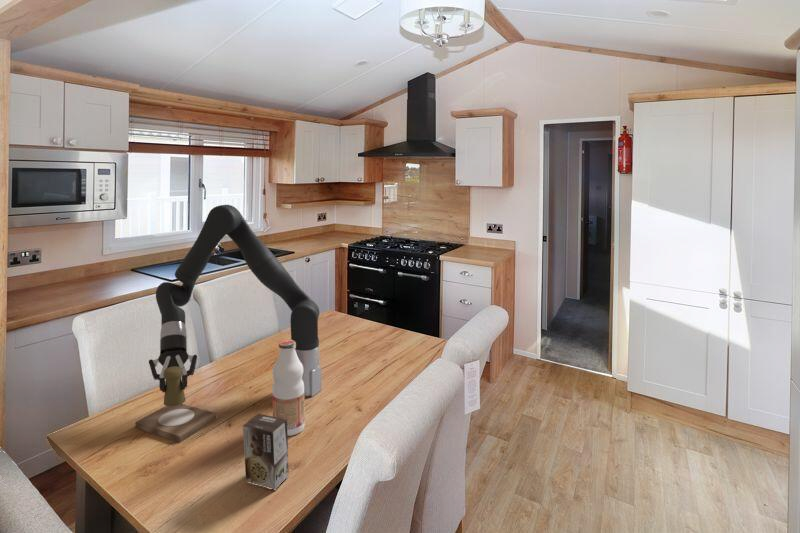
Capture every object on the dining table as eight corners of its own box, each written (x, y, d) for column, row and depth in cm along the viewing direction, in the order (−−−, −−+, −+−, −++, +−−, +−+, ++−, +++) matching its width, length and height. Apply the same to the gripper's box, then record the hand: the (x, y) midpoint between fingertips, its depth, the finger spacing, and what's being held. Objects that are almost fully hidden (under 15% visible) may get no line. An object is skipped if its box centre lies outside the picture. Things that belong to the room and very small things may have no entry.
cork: (189, 397, 140) (187, 364, 138) (178, 407, 134) (176, 373, 132) (171, 395, 141) (169, 363, 139) (159, 405, 135) (157, 371, 133)
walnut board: (216, 419, 142) (216, 412, 142) (180, 442, 129) (179, 435, 129) (174, 407, 148) (173, 400, 148) (135, 428, 136) (135, 421, 135)
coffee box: (289, 476, 116) (288, 419, 113) (275, 491, 110) (273, 432, 107) (260, 467, 119) (258, 412, 116) (244, 482, 113) (241, 424, 110)
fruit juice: (284, 440, 131) (282, 350, 126) (267, 428, 138) (264, 342, 132) (311, 428, 138) (310, 342, 133) (293, 417, 144) (292, 334, 139)
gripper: (146, 336, 138) (144, 389, 129) (197, 331, 143) (199, 382, 135) (149, 346, 143) (148, 398, 135) (198, 341, 149) (200, 390, 141)
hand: (173, 389), depth 135 cm, fingers closed on cork, 4 cm apart
